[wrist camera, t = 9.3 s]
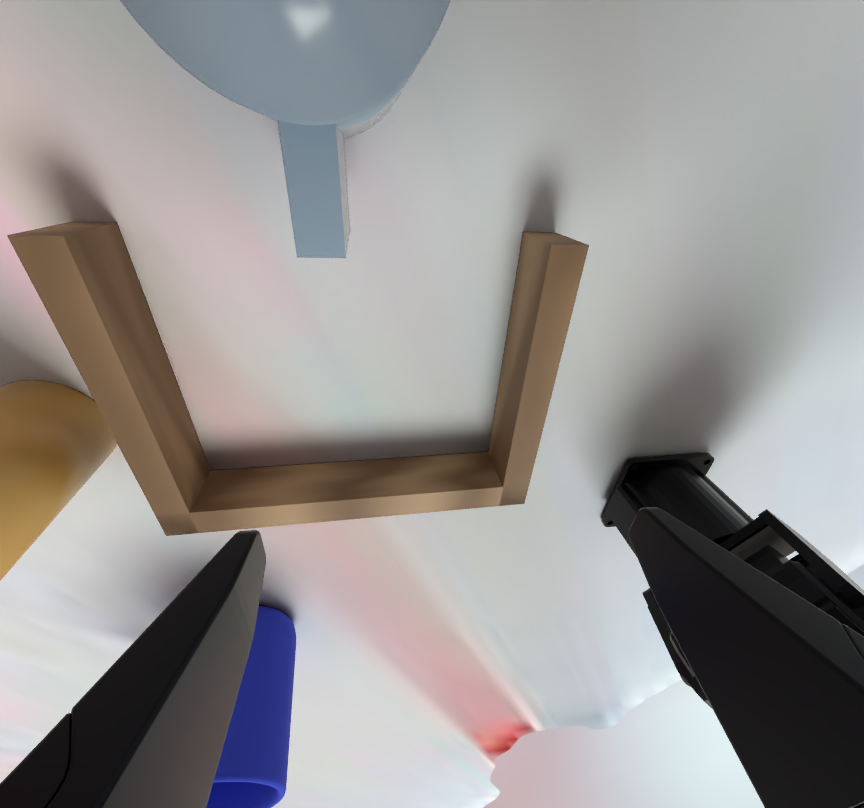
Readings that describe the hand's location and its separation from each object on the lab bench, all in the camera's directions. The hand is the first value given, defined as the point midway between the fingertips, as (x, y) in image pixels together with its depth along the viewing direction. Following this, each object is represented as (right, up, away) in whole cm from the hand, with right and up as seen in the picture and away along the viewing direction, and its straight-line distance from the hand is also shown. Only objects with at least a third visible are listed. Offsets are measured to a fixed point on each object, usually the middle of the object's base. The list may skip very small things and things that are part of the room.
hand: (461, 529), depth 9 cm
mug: (-17, -15, +21) cm, 30 cm away
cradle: (-5, +5, +10) cm, 12 cm away
